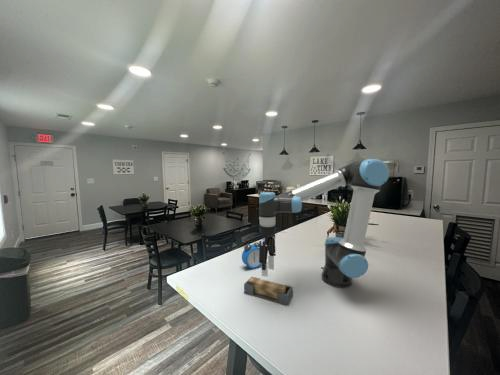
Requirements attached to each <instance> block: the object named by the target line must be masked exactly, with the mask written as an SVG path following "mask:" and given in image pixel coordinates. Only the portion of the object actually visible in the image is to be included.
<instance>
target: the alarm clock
mask: <svg viewBox="0 0 500 375" xmlns="http://www.w3.org/2000/svg"><path fill="white" fill-rule="evenodd" d="M259 250H260V245H259V242H254V243H252V244H251V243H250V244H249V243H248V244H245V245H244V247H243V251H242V253H241V261H242V263H243V265H245V266H246V267H247V268H249V270H251V269H257V268H259V267H260V266H262V264H261V263H259Z"/></svg>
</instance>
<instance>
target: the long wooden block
mask: <svg viewBox="0 0 500 375" xmlns="http://www.w3.org/2000/svg"><path fill="white" fill-rule="evenodd" d="M247 281H248V284H251V285H254V292H255V293H259V294H262V295H266V296H269V297H273V298H276V299H277V292H280V293H284V294H286V285H287V284H281V283H278V282H273V281H268V280H264V279H262V278H259V279H258V277H255V278H254V276H250V277H249V279H247Z"/></svg>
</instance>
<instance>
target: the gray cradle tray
mask: <svg viewBox="0 0 500 375" xmlns="http://www.w3.org/2000/svg"><path fill="white" fill-rule="evenodd" d="M253 277H254V276H253ZM254 278H256V277H254ZM257 278H258V277H257ZM258 279H260V278H258ZM285 285H286V294H284V293H280V292H277V299H276V298H273V297H269V296H266V295H262V294H259V293H255V292H254V285H251V284H248V280H246V281H245V282H244V284H243V290H244V291H243V293H244V294H246V295H250V296H253V297H256V298H258V299H259V298H260V299H263V300H266V301H270V302H273V303H276V304H280V305H282V306H287V307H289V304H290V303H291V301H292V299H293V298H294V287H293V286H292V285H287V284H285Z"/></svg>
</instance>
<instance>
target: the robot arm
mask: <svg viewBox="0 0 500 375" xmlns="http://www.w3.org/2000/svg"><path fill="white" fill-rule="evenodd" d="M389 176H390V171H389V167H388V165H386V162H384V161H383V160H380V159H376V158H367V159H362V160H356V161H353V162H350V163H348V164H347V165H343V167H340V168H338V169H335V171H334V172H333V173H331V174H329V175H326V176H323V177H321V178H319V179H316V180H314V181H311V182H309V183H307V184H304V185H301V186H299V187H297V188H294V189H293V190H290V191H288V192H283V193H280V194H279V195H277V196H276V193H275V192H271V191H270V192H269V191H266V192H265V191H264V192H260V194H259V195H258V196H259V197H258V198H259V200H258V206H259V207H258V209H259V210H258V212H259V214H258V216H259V217H258V220H259V233H260V235H262V238H261V240H259V242H258V243H259V245H260V250H259V263H261V276H262V277H266V278H268V277H269V276H268V274H269V273H268V270H272V271H274V270H275V269H274V268H275V263H274V262H275V257H276V255H277V254H276V250H277V249H276V213H277V214H278V213H291V214H292V213H293V214H294V213H300V212H301V211H302V208H303V206H302V205H303V204H302V203H303V202H304V201H307V200H309V199H312V198H314V197H317V196H319V195H320V196H321V195H322V194H325V193H326V192H327V193H328V192H329V191H331V190H335V189H337V188H340V187H343V188H344V187H346V186H351V188H352V190H353V191H352V197H351V203H350V206H349V211H348V216H347V219H346V220H347V221H346V226H345V229H344V233H343V237H339V236H331V237H330V236H329V237H326V239H325V243H324V245H325V248H324V249H325V251H324V254H325V255H324V258H325V259H324V266H323V268H322V269H323V270H322V272H321V280H322V281H323V282H324V283H326V284H328V285H330V286H332V287H336V288H348V287H350V286H351V285H352V284H353V279H357V278H361V276H362V277H363V276H364V275H365V274H366V273H367V271H368V269H369V263H368V262H369V261H368V260H367V258H366V253H367V249H366V246H364V243H365V240H366V234H367V230H368V227H369V221H370V216H371V214H372V213H371V212H372V208H373V203H374V200H375V196H376V194H377V193H379V192H380V191H381V186H382V185H384V184H385V183H387V181H388V179H389ZM267 261H268V262H267Z"/></svg>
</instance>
